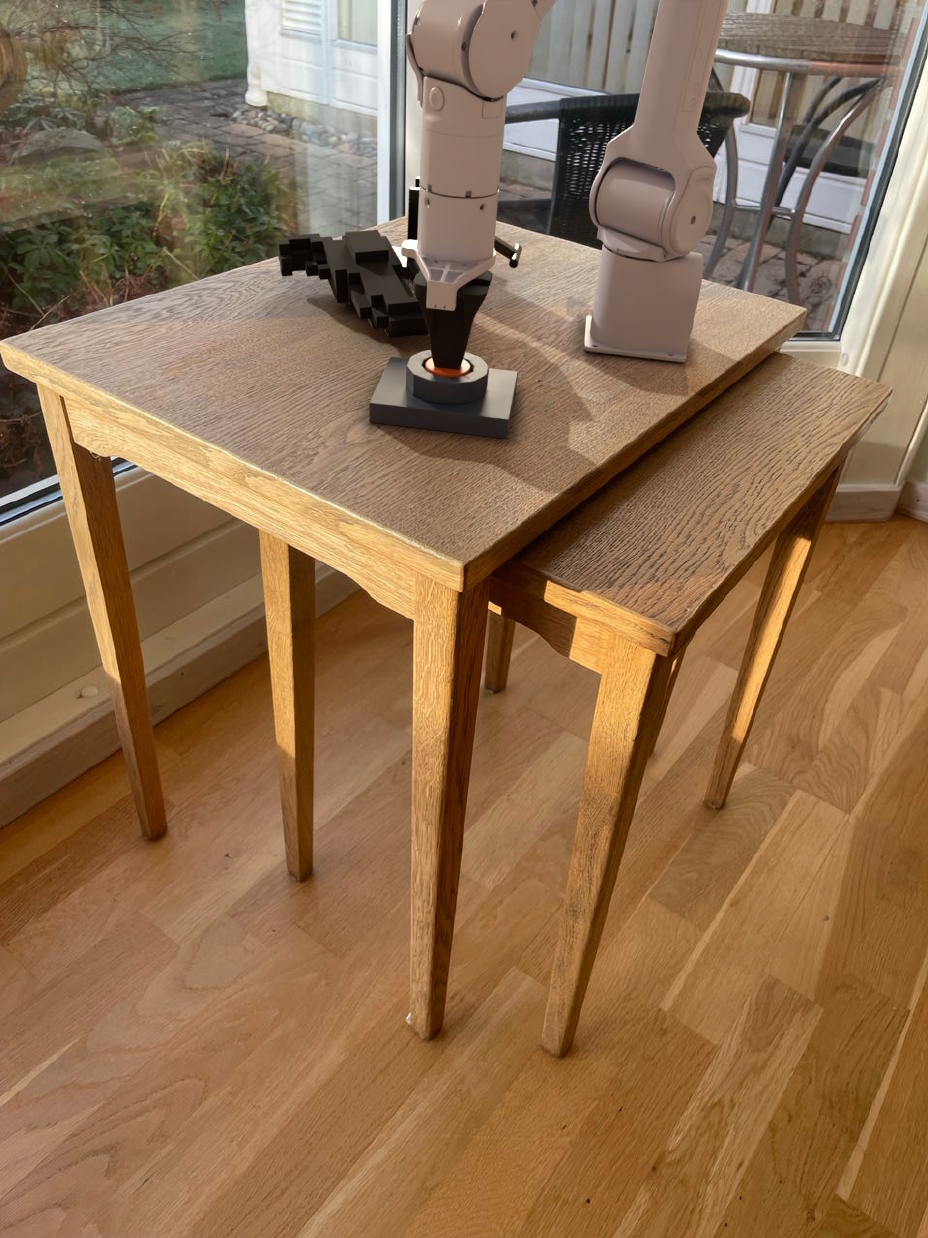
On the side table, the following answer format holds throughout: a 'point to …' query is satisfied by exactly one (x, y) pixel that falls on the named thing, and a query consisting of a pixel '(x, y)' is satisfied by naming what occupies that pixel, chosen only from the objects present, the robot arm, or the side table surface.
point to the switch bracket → (411, 223)
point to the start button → (448, 370)
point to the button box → (445, 397)
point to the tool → (360, 277)
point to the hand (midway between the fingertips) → (447, 365)
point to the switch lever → (508, 251)
